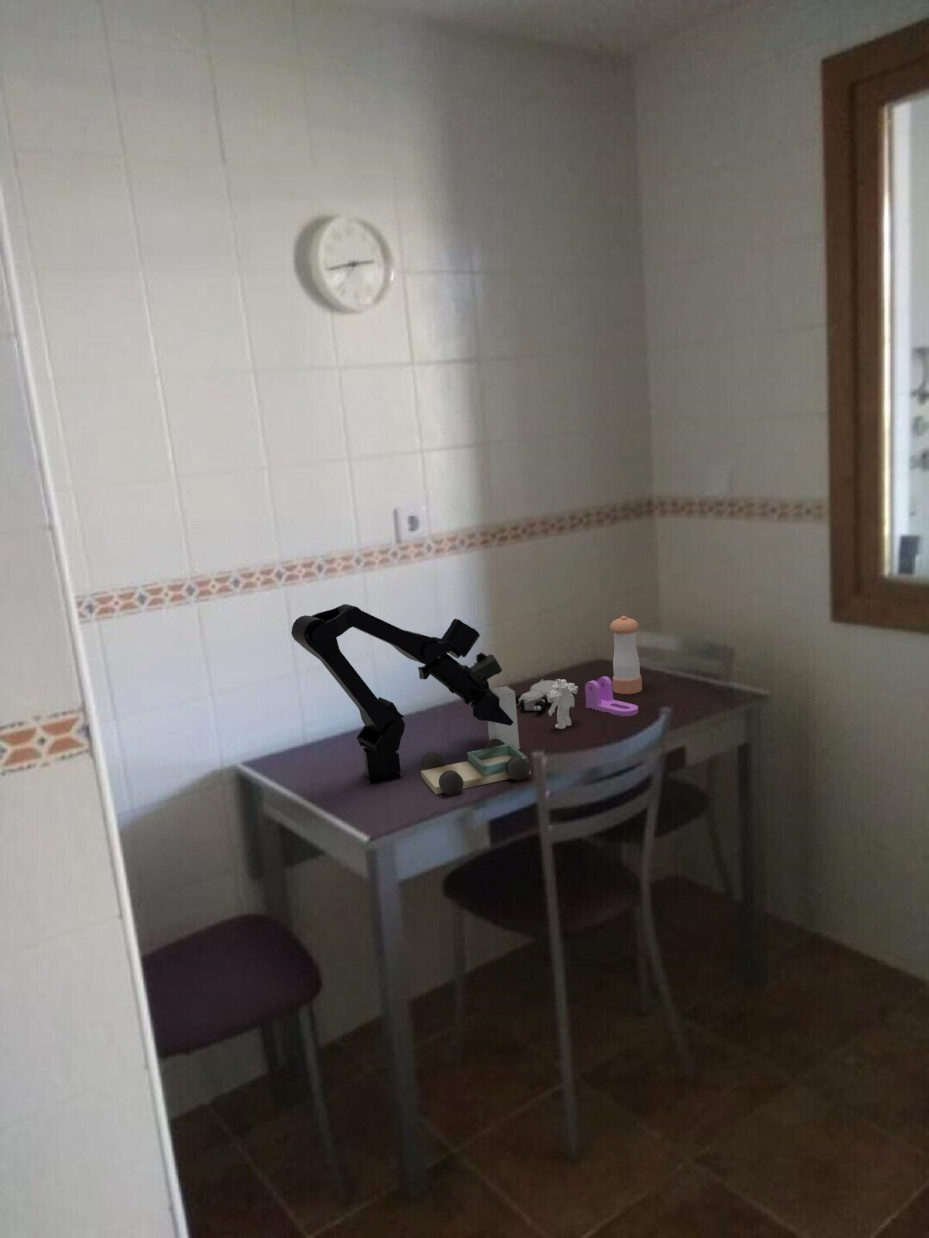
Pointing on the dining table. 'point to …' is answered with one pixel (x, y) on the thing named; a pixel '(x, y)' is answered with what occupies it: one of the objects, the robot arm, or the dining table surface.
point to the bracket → (606, 698)
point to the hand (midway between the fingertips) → (507, 717)
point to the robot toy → (536, 696)
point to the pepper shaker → (626, 657)
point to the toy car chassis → (475, 768)
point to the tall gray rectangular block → (509, 706)
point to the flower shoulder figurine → (562, 702)
